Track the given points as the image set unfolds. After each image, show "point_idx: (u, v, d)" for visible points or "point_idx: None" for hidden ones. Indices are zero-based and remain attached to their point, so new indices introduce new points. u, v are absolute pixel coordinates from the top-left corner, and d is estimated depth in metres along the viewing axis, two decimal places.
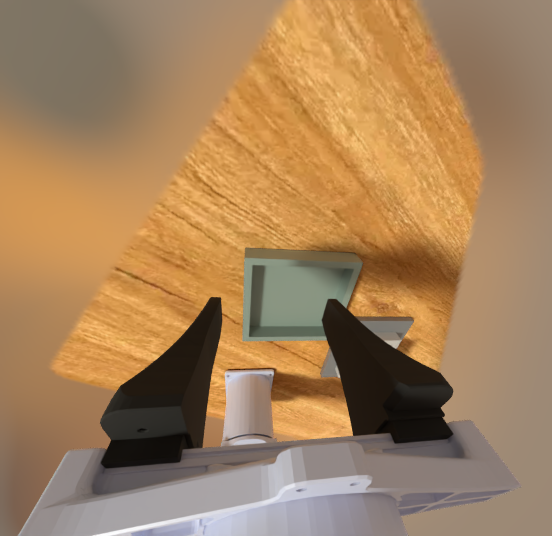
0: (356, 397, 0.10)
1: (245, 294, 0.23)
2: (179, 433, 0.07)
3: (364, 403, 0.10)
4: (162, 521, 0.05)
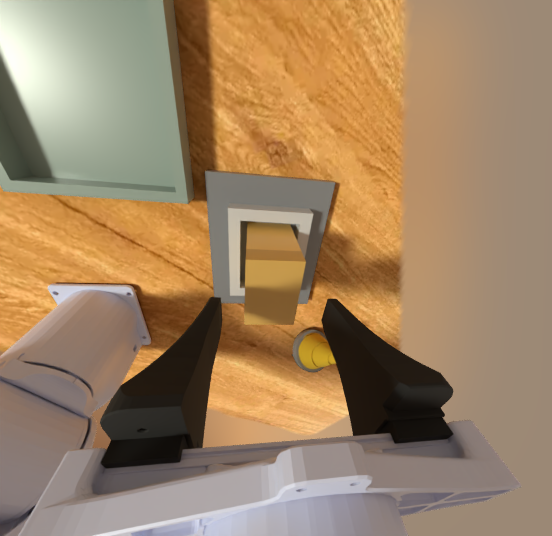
0: (356, 397, 0.10)
1: None
2: (179, 433, 0.07)
3: (364, 403, 0.10)
4: (162, 521, 0.05)
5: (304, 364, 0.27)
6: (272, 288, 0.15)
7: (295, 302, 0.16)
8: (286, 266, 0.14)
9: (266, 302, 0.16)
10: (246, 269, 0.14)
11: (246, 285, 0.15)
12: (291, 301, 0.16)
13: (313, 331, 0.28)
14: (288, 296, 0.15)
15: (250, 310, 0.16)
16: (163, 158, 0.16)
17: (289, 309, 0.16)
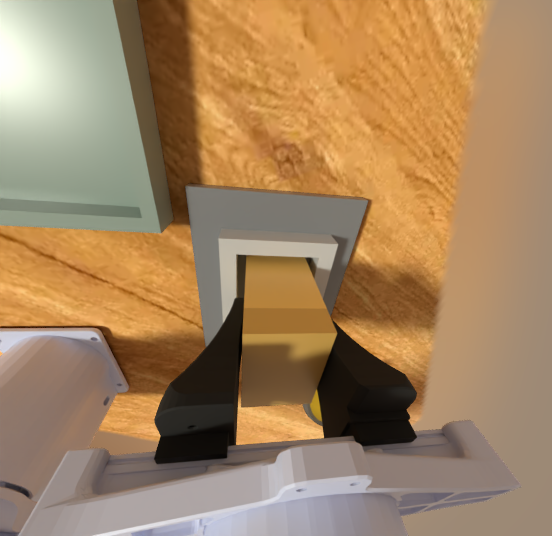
0: (326, 399, 0.10)
1: None
2: (225, 430, 0.07)
3: (333, 405, 0.10)
4: (162, 521, 0.05)
5: (317, 417, 0.22)
6: (282, 366, 0.10)
7: (316, 380, 0.11)
8: (306, 340, 0.09)
9: (273, 382, 0.10)
10: (244, 346, 0.09)
11: (244, 364, 0.09)
12: (310, 379, 0.11)
13: None
14: (306, 374, 0.10)
15: (250, 391, 0.11)
16: (124, 168, 0.11)
17: (306, 387, 0.11)
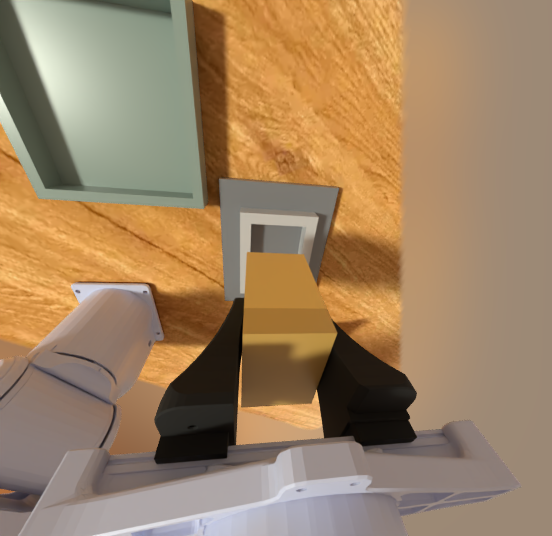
0: (326, 399, 0.10)
1: None
2: (225, 430, 0.07)
3: (332, 405, 0.09)
4: (162, 521, 0.05)
5: None
6: (283, 366, 0.10)
7: (316, 380, 0.11)
8: (306, 340, 0.09)
9: (274, 382, 0.10)
10: (244, 346, 0.09)
11: (244, 364, 0.09)
12: (310, 379, 0.11)
13: None
14: (306, 374, 0.10)
15: (250, 391, 0.11)
16: (181, 167, 0.18)
17: (306, 387, 0.11)
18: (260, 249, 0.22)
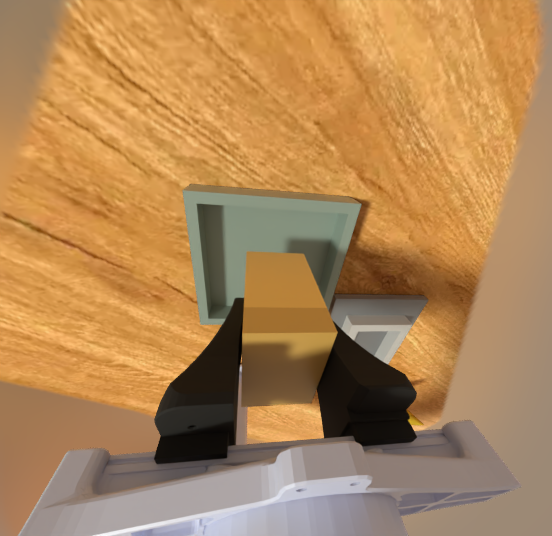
0: (326, 399, 0.10)
1: (193, 253, 0.16)
2: (225, 430, 0.07)
3: (332, 405, 0.09)
4: (162, 521, 0.05)
5: None
6: (283, 366, 0.10)
7: (316, 380, 0.11)
8: (306, 339, 0.09)
9: (274, 382, 0.10)
10: (243, 345, 0.09)
11: (244, 364, 0.09)
12: (310, 379, 0.11)
13: None
14: (306, 373, 0.10)
15: (250, 391, 0.11)
16: None
17: (306, 387, 0.11)
18: None
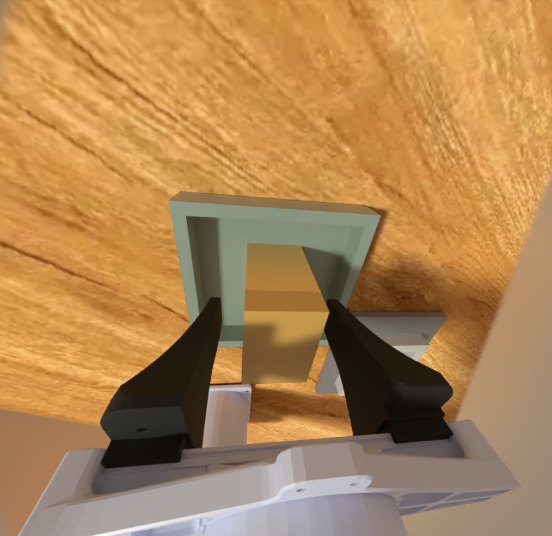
0: (356, 397, 0.10)
1: (184, 271, 0.14)
2: (179, 433, 0.07)
3: (364, 403, 0.10)
4: (162, 521, 0.05)
5: None
6: (280, 344, 0.11)
7: (310, 358, 0.12)
8: (301, 318, 0.10)
9: (271, 359, 0.11)
10: (245, 322, 0.10)
11: (245, 341, 0.10)
12: (305, 357, 0.12)
13: None
14: (301, 352, 0.11)
15: (250, 368, 0.12)
16: None
17: (301, 366, 0.12)
18: None
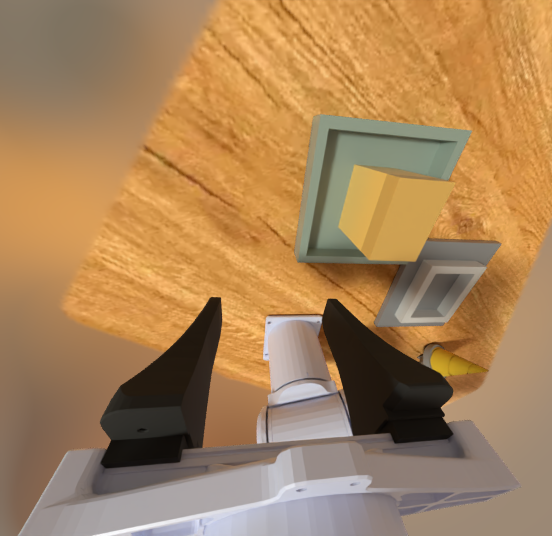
0: (356, 397, 0.10)
1: (312, 182, 0.18)
2: (179, 433, 0.07)
3: (364, 403, 0.10)
4: (162, 521, 0.05)
5: None
6: (411, 215, 0.15)
7: (427, 233, 0.15)
8: (435, 187, 0.14)
9: (400, 232, 0.15)
10: (396, 190, 0.14)
11: (388, 210, 0.14)
12: (424, 232, 0.15)
13: (437, 346, 0.35)
14: (423, 225, 0.15)
15: (381, 241, 0.15)
16: None
17: (418, 242, 0.16)
18: None
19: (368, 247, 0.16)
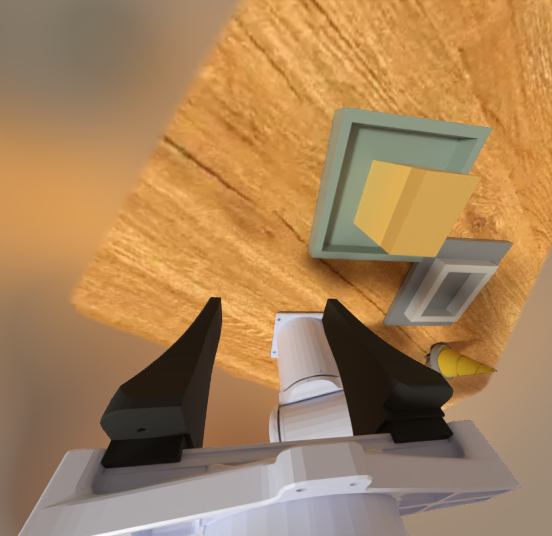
0: (356, 397, 0.10)
1: (332, 176, 0.18)
2: (179, 433, 0.07)
3: (364, 403, 0.10)
4: (162, 521, 0.05)
5: (444, 373, 0.33)
6: (435, 209, 0.15)
7: (449, 228, 0.15)
8: (461, 181, 0.14)
9: (422, 227, 0.15)
10: (422, 183, 0.13)
11: (413, 204, 0.14)
12: (446, 227, 0.15)
13: (444, 346, 0.35)
14: (446, 220, 0.15)
15: (403, 235, 0.15)
16: None
17: (440, 237, 0.16)
18: None
19: (389, 242, 0.16)
